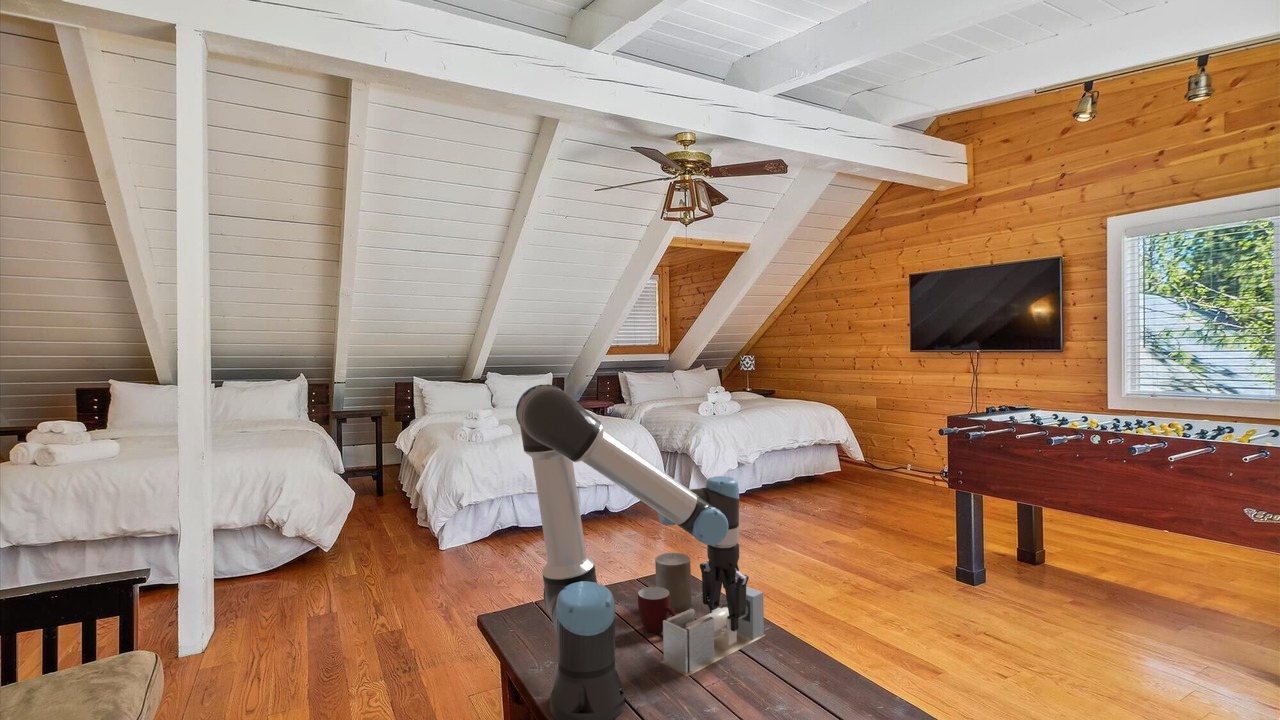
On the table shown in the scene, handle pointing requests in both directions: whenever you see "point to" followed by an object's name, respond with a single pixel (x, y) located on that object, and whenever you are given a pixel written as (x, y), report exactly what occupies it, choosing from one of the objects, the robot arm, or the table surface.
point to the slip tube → (717, 617)
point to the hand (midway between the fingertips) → (724, 639)
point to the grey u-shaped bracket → (688, 642)
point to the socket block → (753, 615)
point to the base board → (724, 648)
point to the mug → (654, 608)
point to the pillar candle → (675, 579)
